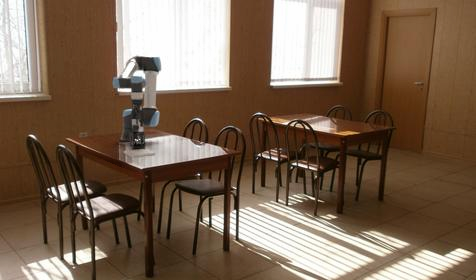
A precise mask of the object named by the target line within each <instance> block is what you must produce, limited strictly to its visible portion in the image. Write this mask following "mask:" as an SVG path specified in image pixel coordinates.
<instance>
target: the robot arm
mask: <svg viewBox="0 0 476 280" xmlns="http://www.w3.org/2000/svg"><path fill="white" fill-rule="evenodd" d="M138 71H142V72H143V74H144V77H143V76H142V75H138V74H137V75H135V73H137V72H138ZM161 71H162V62H161V58H160V56H158V55H154V54H152V55H151V54H149V55H148V54H145V55H143V54H137V55H134V56H132V57H131V58H130V59H128V60H127V61H126V63H125V67H124V69H123V70H122V72H121V73H120V75H119V77H118V76H117V77H113V80H112V86H113V88H114V89H128V90H129V89H130V91H131V92H130V96H131V97H130V98H131V109H124V110H123V112H122V128H123V129H122V133H121V136H120V140H121V141H123V142H130V133H132V132H136V131H138V129H132V125H136V124H138V120H139V132H144V129H143V125H145V126H144V127H156V126H158V124H159V120H160V114H161V113H160V111H159V110H158V108H157V107H156V103H157V102H156V101H157V77H158V75H159V74H160V72H161ZM143 89H144V90H143ZM143 91H144V92H143ZM141 105H142V106H141ZM136 116H138V118H139V119H138V118H137V117H136ZM137 134H138V133H137ZM139 134H140V133H139ZM137 139H138V136H137ZM139 139H141V135H139ZM131 142H132V134H131Z"/></svg>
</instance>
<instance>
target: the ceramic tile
mask: <svg viewBox="0 0 476 280" xmlns="http://www.w3.org/2000/svg"><path fill="white" fill-rule="evenodd" d="M123 154H125V155H126V156H128V157H130V158H138V157H148V156H155V154H156V153H155V152H154V151H152V150H151V149H148V148H146V149H139V150H132V149H131V150H129V149H128V150H123Z"/></svg>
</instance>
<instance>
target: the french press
mask: <svg viewBox="0 0 476 280" xmlns="http://www.w3.org/2000/svg"><path fill="white" fill-rule="evenodd" d="M136 117H137V118H138V116H136ZM138 119H139V118H138ZM145 127H146V126H145V125H143V130H145ZM132 129H138V131H136V132H132V133H130V141H129V147H131V150H139V149H147V148H146V132H145V131H143V132H139V120H138V124H136V125H132ZM137 133H138V134H137ZM139 133H140V134H139ZM131 134H132V141H131ZM139 135H141V139H139ZM137 136H138V139H137Z"/></svg>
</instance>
